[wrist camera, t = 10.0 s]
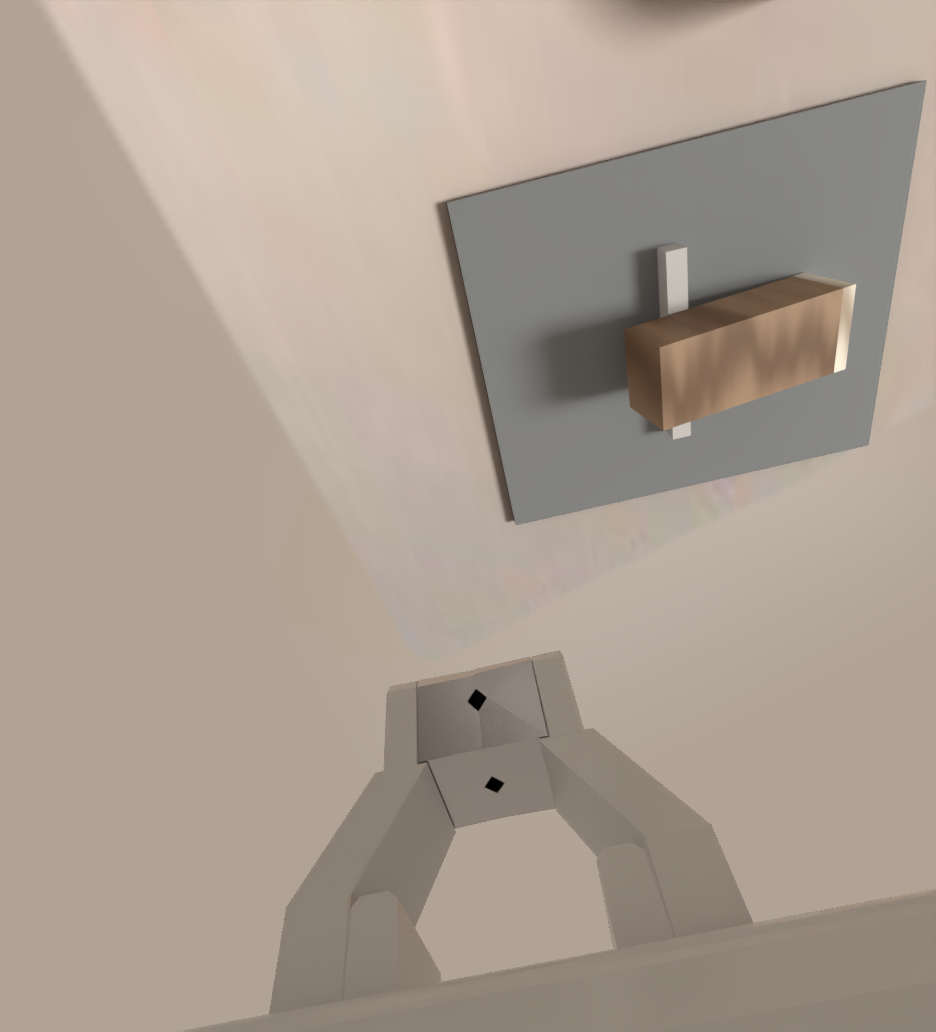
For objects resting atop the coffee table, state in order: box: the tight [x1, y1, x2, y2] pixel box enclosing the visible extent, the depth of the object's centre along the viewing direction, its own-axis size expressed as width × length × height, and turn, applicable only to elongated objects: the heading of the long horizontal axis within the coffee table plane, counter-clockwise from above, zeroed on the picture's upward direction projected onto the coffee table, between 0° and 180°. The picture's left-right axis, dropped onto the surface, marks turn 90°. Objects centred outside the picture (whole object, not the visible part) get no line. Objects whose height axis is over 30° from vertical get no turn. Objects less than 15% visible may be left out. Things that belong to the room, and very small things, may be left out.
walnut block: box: [624, 272, 856, 431], centre depth 37 cm, size 5×4×12 cm
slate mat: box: [447, 81, 926, 525], centre depth 39 cm, size 22×26×2 cm
